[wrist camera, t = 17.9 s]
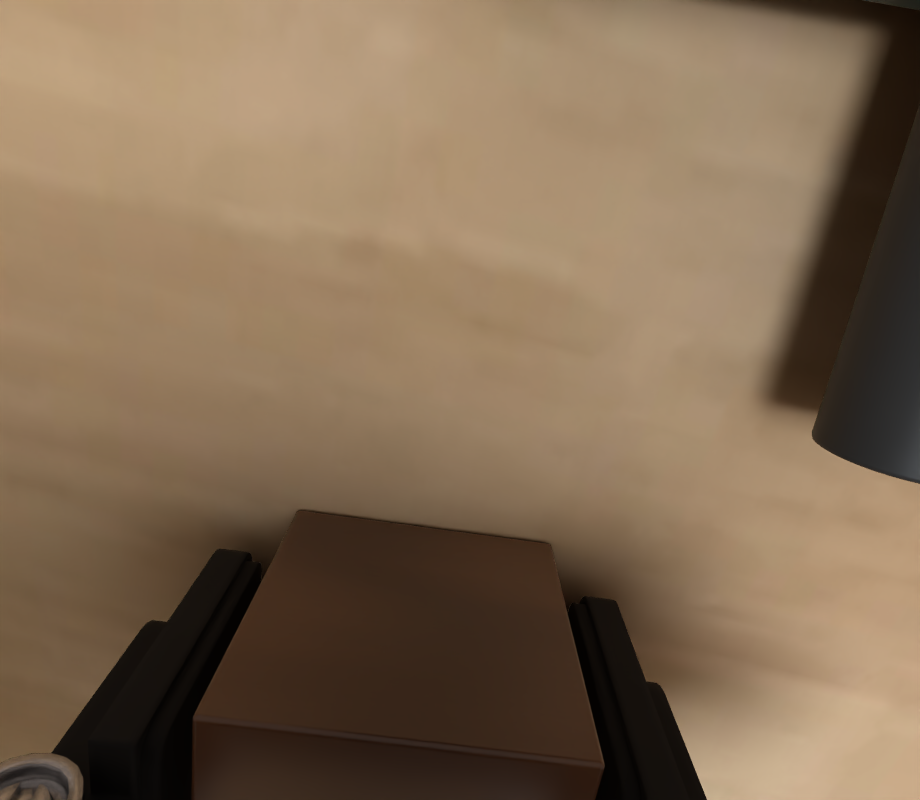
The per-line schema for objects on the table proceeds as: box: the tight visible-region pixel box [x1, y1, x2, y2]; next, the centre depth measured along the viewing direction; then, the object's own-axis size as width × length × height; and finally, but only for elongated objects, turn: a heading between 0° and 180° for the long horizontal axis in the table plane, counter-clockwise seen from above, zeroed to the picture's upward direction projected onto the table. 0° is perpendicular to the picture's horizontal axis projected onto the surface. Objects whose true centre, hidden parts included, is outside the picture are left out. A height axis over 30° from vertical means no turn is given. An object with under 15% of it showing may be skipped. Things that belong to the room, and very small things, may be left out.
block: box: [191, 511, 605, 800], centre depth 9 cm, size 4×4×4 cm
